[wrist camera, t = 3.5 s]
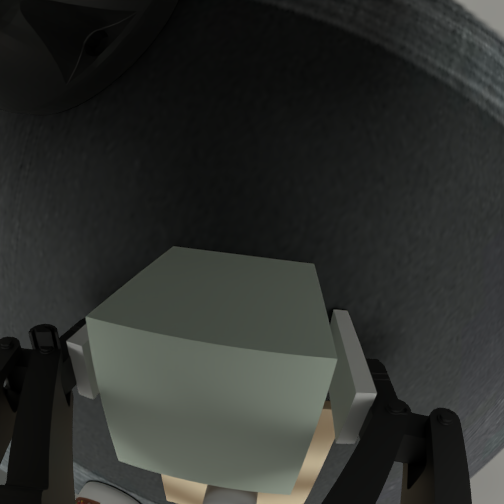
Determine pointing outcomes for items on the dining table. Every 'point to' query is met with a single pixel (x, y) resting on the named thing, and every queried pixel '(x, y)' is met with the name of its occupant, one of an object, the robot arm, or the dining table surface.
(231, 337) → the pale green block
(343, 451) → the dining table surface
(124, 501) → the milk bottle
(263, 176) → the dining table surface
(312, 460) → the post base
